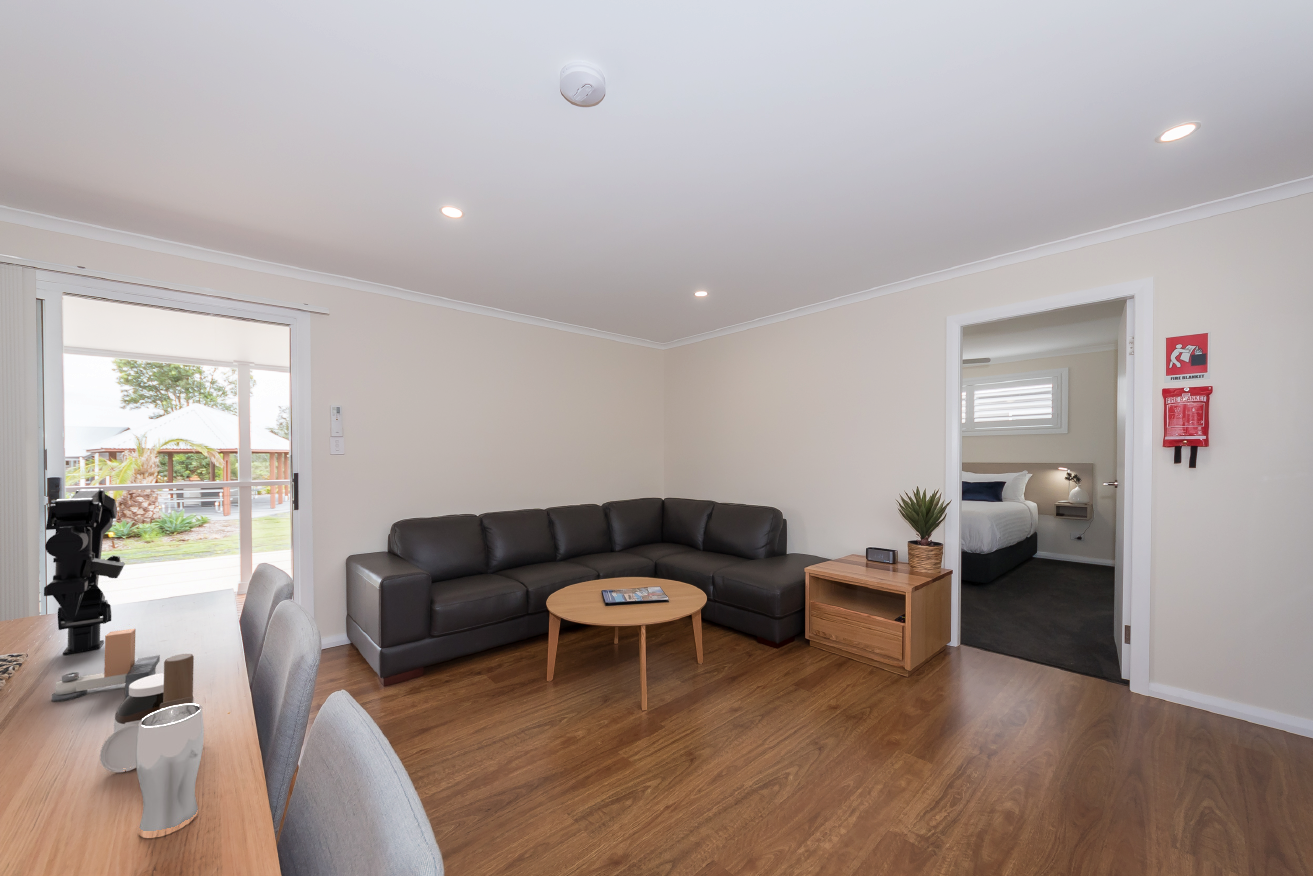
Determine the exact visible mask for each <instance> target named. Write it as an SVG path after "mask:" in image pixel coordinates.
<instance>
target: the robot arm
mask: <svg viewBox="0 0 1313 876" xmlns="http://www.w3.org/2000/svg"><path fill="white" fill-rule="evenodd" d="M105 492H106V491H105V489H104V488H103V489H102V488H99V487H98V488H80V489H76V491H75V494H74V495H73V496H71V497H70V498H57V499H56V500H54V503H51V504H50V505H49V510H48V517H47V520H46V525H45V531H51V530H55V534H54V535H52V536H50V537H49V538H48V539H47V541H46V543H45V545H44V546H45V547H44V548H45V550H46V551H45V552H47V553H48V554H49V556H52V557H53V561H52V562H53V563H54V564H55V568H54V569H55V574H54V575H53V576H52V581H51V582H50V583H48V584H46V586H44V587H43V597H51V596H52V597H53V598H54V599H55V600H56V602H57V603H58V609H57V626H58V628H57V629H58V631H62V630H66V629H67V646H66V648H65V649H64V651H63V652H62V655H68V654H69V655H70V654H74V653H76V654H77V653H81V652H87V651H88V652H89V651H93V650H98V649H101V647H102V645H103V644H105V639H103V640H101V625H102V624H103V625H104V624H107V623H109V622H112V608H111V607H112V606H111V604H109V601H108V599H106V596H105V595H104V592H103V591H102V590H101V588H100V587H99V578H100V576H101V577H102V576H103V577H108V578H110V579H118V577H119V576H120V575H121V573H122V571H123V569H124V567H125V564H126V563H125V562H124V561H121V558H120V557H121V556H119V555H111V556H110V557H108V558H107V559H105V558H102V550H103V541H104V535H106V534H107V532H108V531H109V530H110V529H111V528H112V527H113V525H114V524H113V522H114V520H115V519H117V516H118V515H117V513H118V508H117V503H116V499H115V498H113V497H111V496H109V495H107V494H106V493H105Z"/></svg>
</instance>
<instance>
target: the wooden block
mask: <svg viewBox="0 0 1313 876" xmlns="http://www.w3.org/2000/svg"><path fill="white" fill-rule="evenodd" d="M194 660H195V657H194V654H193V653H180V654H176V655H173V656H170V657H167V658H166V659H165V660H164V662H163V673H164V692H163V703H161V704H160V710H161V709H164V708H167V707H171V706H176V705H181V704H193V698H194V696H193V695H194V662H195V661H194Z"/></svg>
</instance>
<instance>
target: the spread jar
mask: <svg viewBox="0 0 1313 876" xmlns="http://www.w3.org/2000/svg"><path fill="white" fill-rule="evenodd" d="M163 692H164V672H161V673H156V674H155V675H151V676H147V677H144V678H141V679H139V680H136V681H134V682H133V683H131V684H130V685H129V696H128V697H127V698H126V699H125V698H124V700H123V701H122V702H121V703H120V705H119V706H118V708H117V709H116V712H115V714H114V719H113V720H114V722H113V733H111V735H110V736H108V737H107V738H106V740H105V741H104V743H103V745H102V746H101V749H100V753H99V761H100V763H101V766H102V767H103V768H104V769H106V770H107V771H110V772H112V773H124V772H125V771H123V770H126V772H129V771H132V770H135V769H137V768H136V744H137V736H138V729H139V722H140V720H141V719H143V718H144V717H145V716H147V715H149V714H151V713H153V712H156V711H158V710H160V704H161V703H163ZM193 704H195V698H194V697H193ZM130 767H131V768H130ZM123 768H126V769H123Z"/></svg>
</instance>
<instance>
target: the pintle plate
mask: <svg viewBox="0 0 1313 876" xmlns="http://www.w3.org/2000/svg"><path fill="white" fill-rule="evenodd" d="M79 677H80V673H79V672H71V673H66V674H64V675H62V676H61V680H62V682H70V681H74V680H77V679H78V678H79ZM88 690H89V689H88ZM88 690H82V691H76V692H73V693H69V694H63V695H57V694H56V691H55V692H54V693H52V694H51V702H54V703H55V702H56V703H57V702H65V701H70V700H74V699H77V698H80V697H83V696H85V695H87V693H88Z"/></svg>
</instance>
